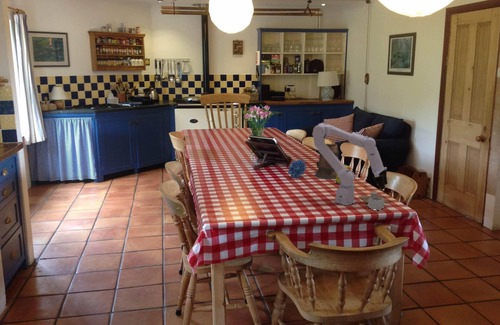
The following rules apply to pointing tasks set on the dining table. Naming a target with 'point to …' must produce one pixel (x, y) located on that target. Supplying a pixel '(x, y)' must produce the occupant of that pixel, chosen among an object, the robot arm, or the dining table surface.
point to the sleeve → (376, 203)
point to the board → (365, 198)
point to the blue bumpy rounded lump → (297, 168)
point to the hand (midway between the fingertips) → (384, 186)
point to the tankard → (326, 165)
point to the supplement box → (338, 177)
